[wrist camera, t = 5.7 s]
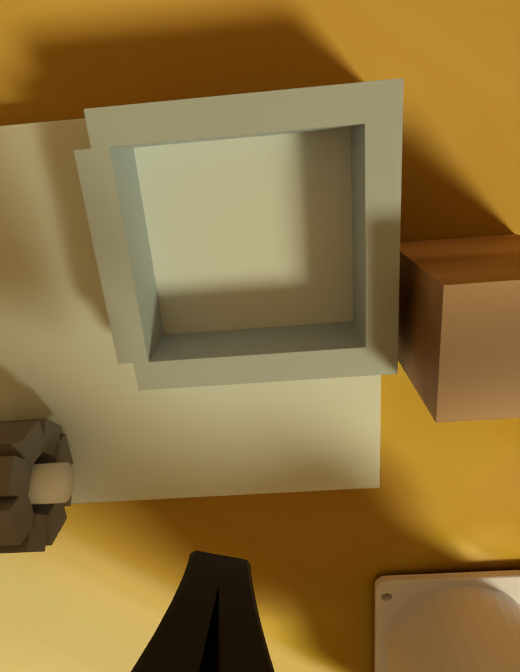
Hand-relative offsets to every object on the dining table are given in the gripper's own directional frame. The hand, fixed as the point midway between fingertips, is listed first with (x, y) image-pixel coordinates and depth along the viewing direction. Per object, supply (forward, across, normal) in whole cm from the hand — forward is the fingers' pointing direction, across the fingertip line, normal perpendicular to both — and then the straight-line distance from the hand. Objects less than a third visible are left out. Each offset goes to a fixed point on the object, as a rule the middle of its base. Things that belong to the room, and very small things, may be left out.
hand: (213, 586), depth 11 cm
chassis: (+9, +4, -2) cm, 10 cm away
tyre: (+8, +7, +3) cm, 11 cm away
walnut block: (+9, -7, -6) cm, 13 cm away
